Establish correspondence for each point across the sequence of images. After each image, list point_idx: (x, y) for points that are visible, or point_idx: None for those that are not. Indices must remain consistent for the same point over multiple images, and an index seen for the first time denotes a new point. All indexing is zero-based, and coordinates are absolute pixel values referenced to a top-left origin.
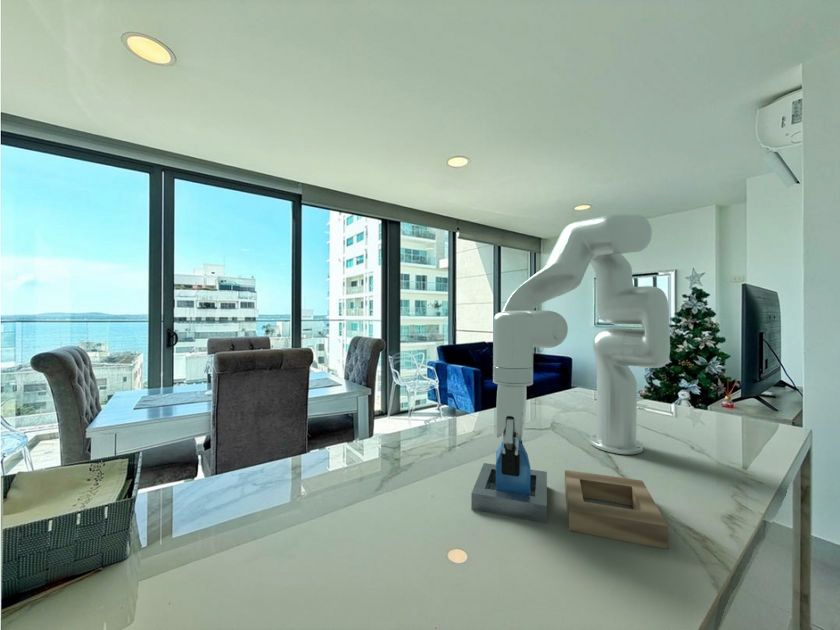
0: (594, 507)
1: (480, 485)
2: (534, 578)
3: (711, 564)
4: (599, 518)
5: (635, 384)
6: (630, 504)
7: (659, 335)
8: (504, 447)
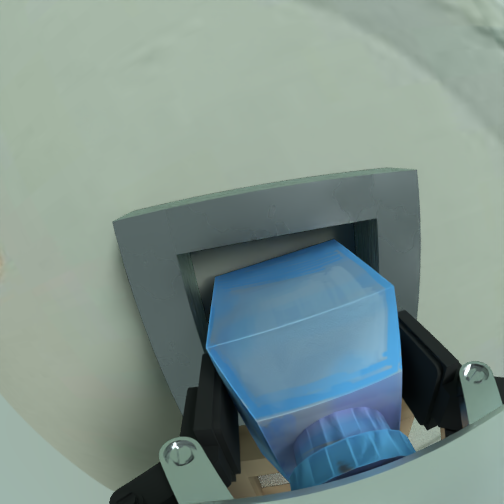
0: (234, 487)
1: (191, 229)
2: (34, 385)
3: None
4: None
5: None
6: None
7: None
8: (114, 495)
